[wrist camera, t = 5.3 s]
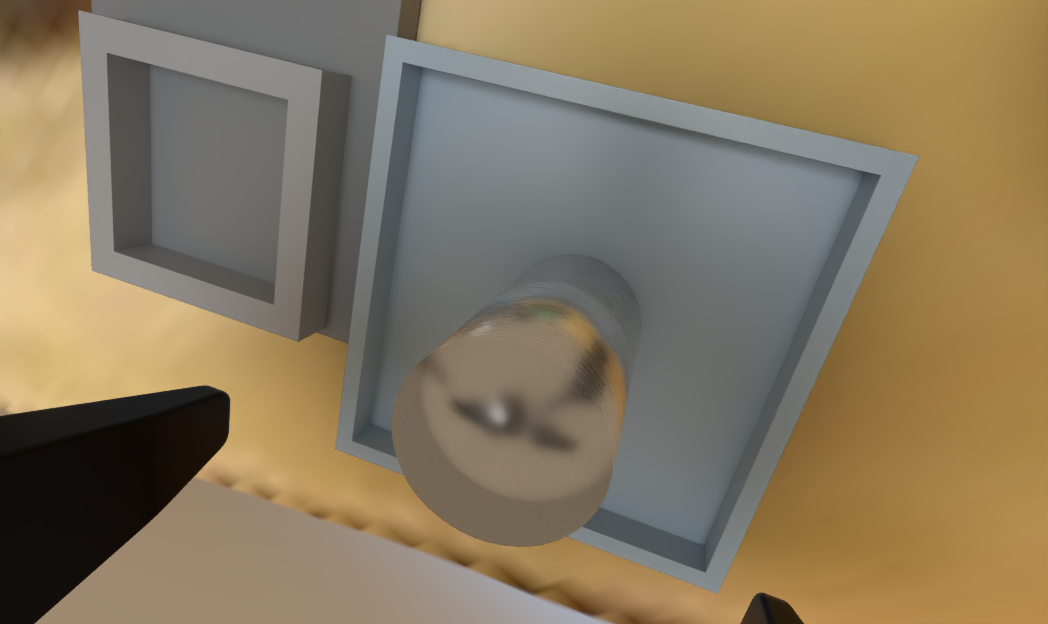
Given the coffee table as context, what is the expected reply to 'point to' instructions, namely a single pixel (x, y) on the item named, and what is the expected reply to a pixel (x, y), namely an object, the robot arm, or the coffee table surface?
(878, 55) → the coffee table surface
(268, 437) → the coffee table surface
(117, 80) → the grey flat frame
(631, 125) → the blue gray square tray
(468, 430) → the cylinder
